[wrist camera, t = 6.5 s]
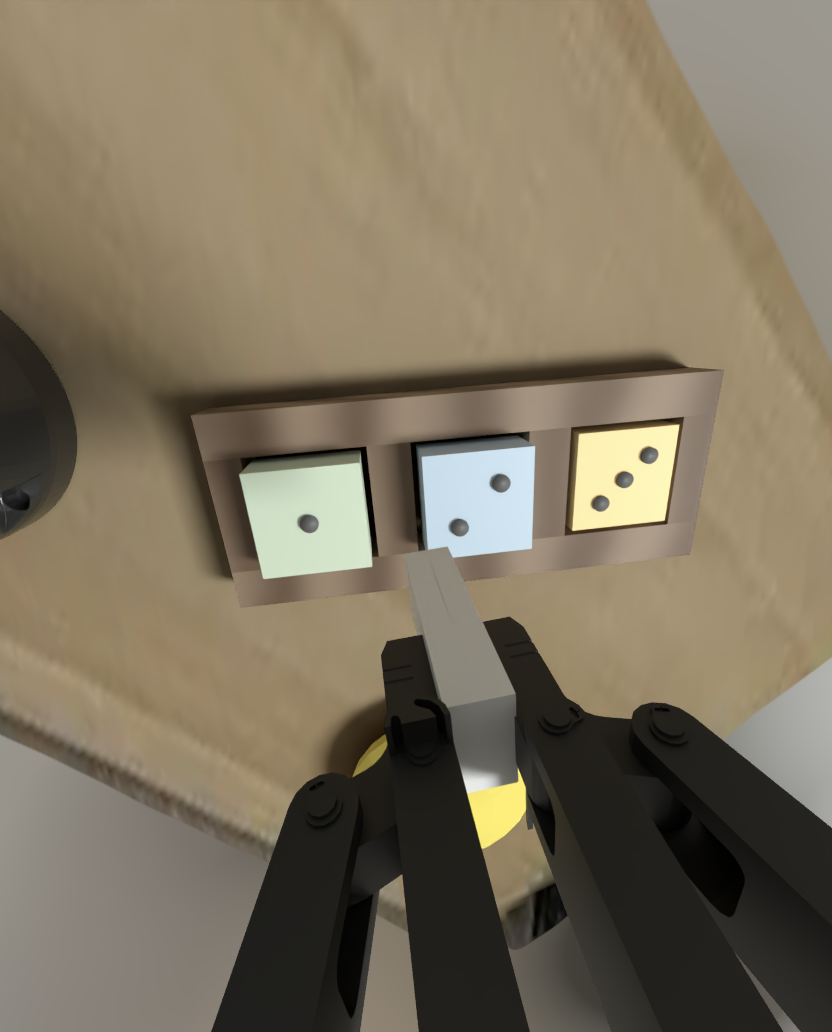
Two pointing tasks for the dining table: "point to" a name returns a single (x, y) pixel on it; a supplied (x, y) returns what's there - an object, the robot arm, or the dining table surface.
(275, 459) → the tile
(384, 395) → the board
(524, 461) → the tile
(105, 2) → the dining table surface
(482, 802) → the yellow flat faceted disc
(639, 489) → the tile
